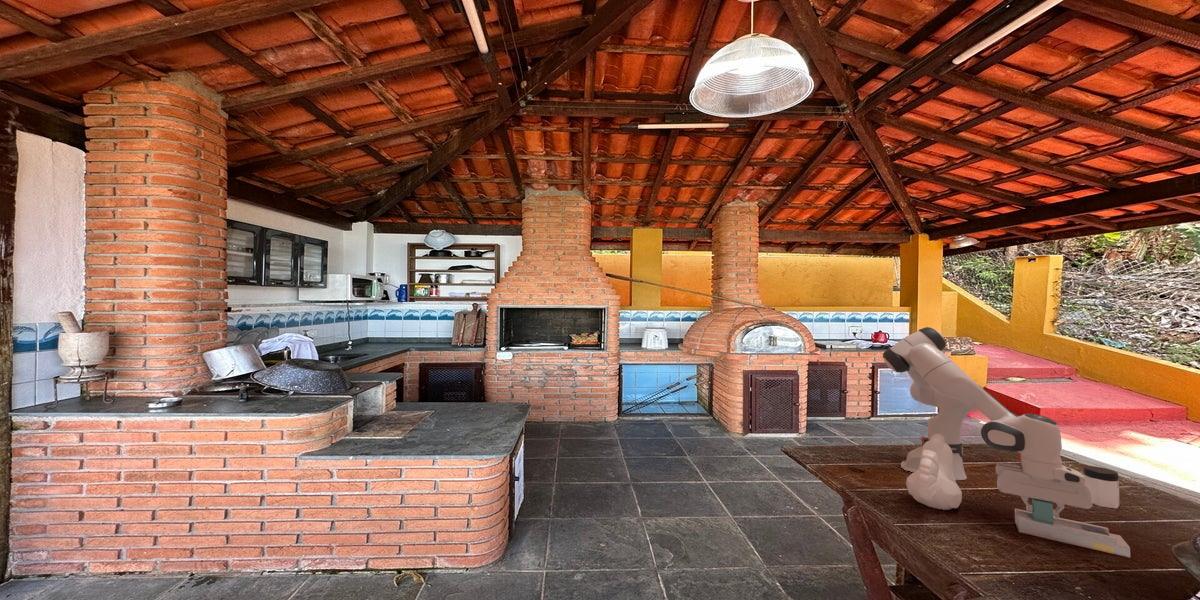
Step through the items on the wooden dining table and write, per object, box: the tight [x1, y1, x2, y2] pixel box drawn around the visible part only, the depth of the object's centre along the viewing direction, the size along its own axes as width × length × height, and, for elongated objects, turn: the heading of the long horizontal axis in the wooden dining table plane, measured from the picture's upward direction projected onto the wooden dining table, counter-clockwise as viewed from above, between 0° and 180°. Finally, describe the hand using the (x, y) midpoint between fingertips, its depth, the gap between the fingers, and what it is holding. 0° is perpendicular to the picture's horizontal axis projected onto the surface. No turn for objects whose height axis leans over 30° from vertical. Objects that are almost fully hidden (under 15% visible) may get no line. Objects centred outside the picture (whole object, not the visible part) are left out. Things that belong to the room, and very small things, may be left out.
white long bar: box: [1014, 508, 1131, 559], centre depth 127 cm, size 22×8×6 cm, turn 52°
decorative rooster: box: [905, 434, 963, 511], centre depth 151 cm, size 25×16×25 cm, turn 119°
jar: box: [1082, 465, 1120, 510], centre depth 153 cm, size 9×8×12 cm
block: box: [1031, 498, 1054, 524], centre depth 130 cm, size 4×4×6 cm
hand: (1042, 513), depth 130 cm, fingers closed on block, 4 cm apart
